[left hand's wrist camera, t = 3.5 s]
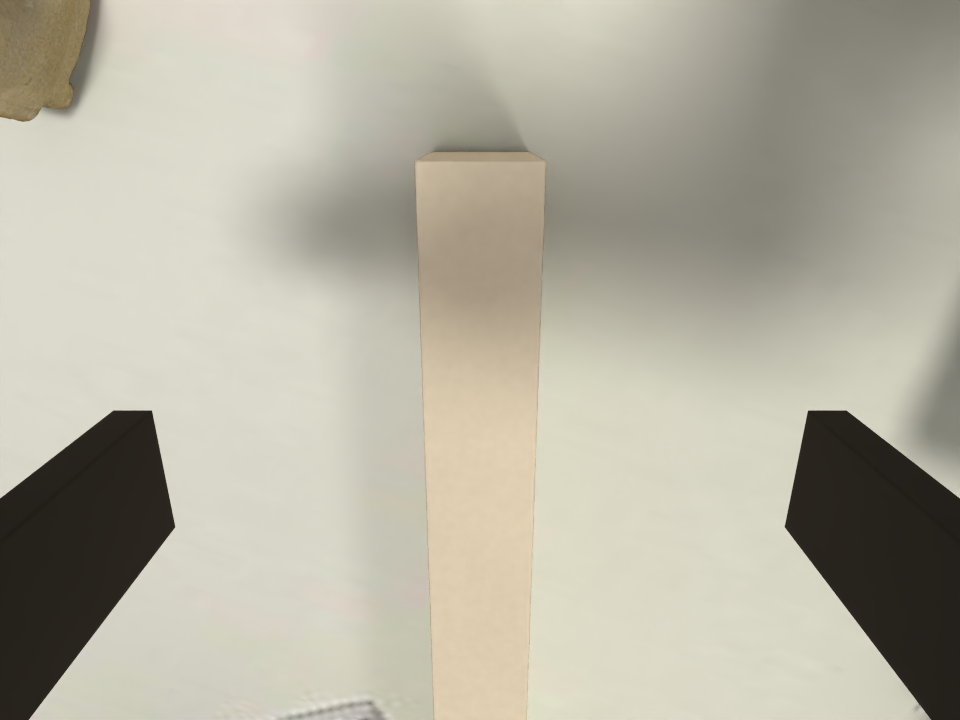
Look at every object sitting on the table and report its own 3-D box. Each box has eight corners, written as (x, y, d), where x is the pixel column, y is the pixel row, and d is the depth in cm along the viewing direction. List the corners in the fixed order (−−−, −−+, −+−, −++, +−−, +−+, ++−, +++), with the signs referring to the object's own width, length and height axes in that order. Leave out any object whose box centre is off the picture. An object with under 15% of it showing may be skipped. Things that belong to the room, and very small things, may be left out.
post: (431, 151, 30) (414, 160, 22) (529, 151, 30) (546, 160, 22) (450, 901, 50) (445, 1047, 42) (509, 901, 50) (515, 1047, 42)
